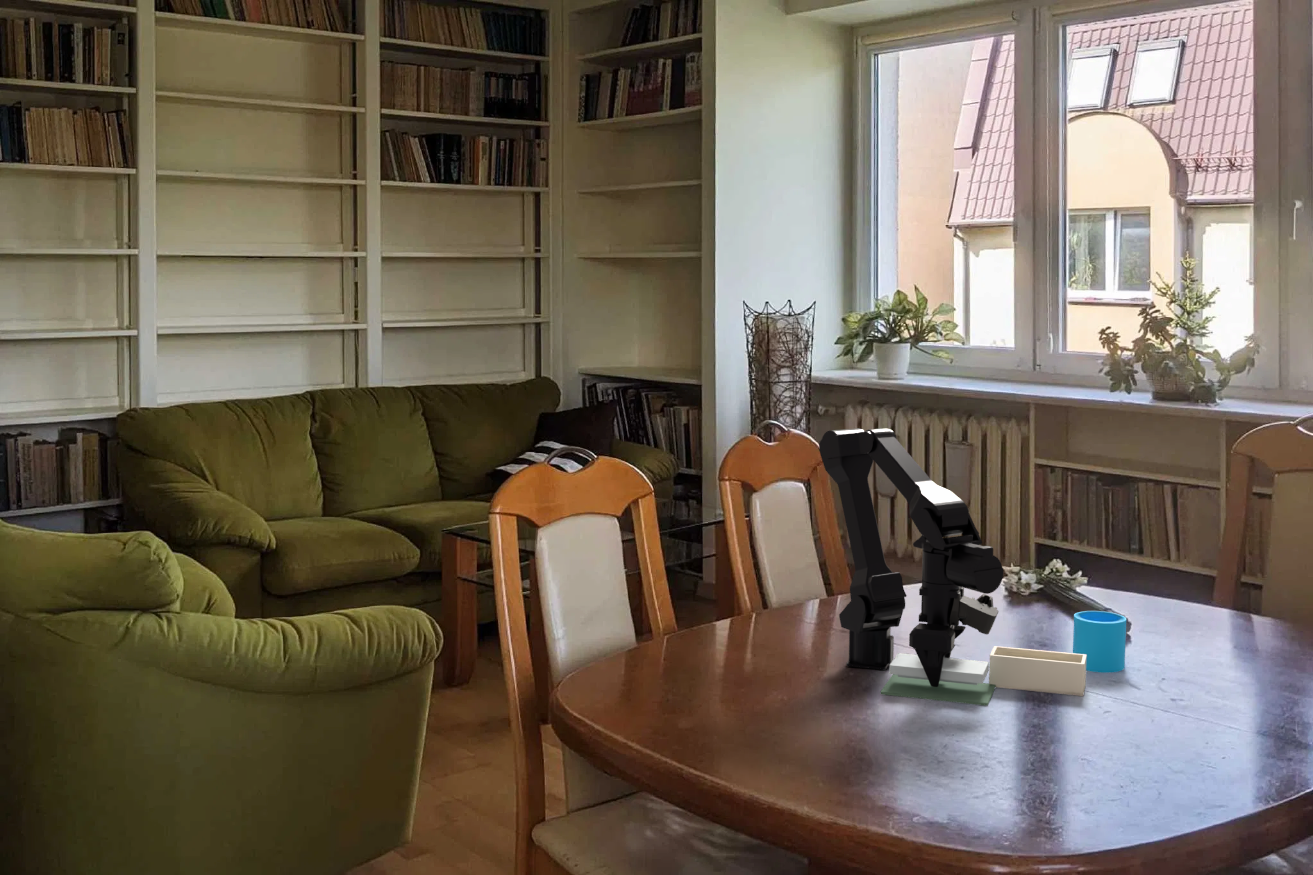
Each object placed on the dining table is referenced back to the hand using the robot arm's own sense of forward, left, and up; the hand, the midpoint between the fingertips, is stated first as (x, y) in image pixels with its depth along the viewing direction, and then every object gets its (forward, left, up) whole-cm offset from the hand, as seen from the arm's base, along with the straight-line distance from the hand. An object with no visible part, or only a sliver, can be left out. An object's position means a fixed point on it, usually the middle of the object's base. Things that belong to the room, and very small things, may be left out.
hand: (938, 679), depth 207 cm
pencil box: (+14, +7, -2) cm, 16 cm away
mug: (+23, +24, -2) cm, 34 cm away
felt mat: (0, 0, -2) cm, 2 cm away
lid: (0, 0, +1) cm, 1 cm away
